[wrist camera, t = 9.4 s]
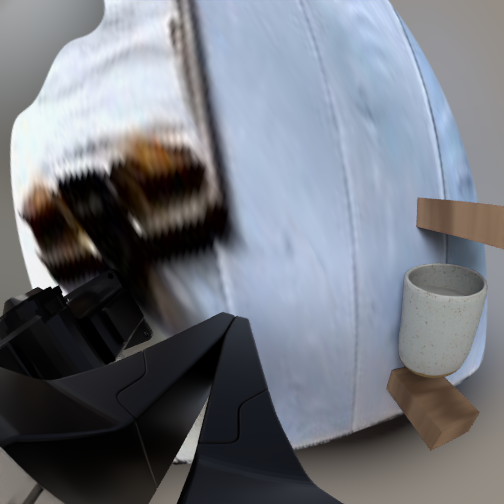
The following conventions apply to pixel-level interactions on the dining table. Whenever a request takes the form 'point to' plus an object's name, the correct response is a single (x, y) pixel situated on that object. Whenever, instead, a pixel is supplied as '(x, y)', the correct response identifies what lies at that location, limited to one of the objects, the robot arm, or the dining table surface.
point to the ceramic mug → (439, 317)
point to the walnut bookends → (440, 389)
